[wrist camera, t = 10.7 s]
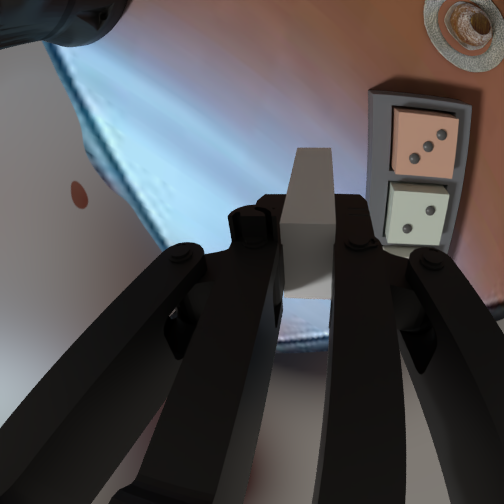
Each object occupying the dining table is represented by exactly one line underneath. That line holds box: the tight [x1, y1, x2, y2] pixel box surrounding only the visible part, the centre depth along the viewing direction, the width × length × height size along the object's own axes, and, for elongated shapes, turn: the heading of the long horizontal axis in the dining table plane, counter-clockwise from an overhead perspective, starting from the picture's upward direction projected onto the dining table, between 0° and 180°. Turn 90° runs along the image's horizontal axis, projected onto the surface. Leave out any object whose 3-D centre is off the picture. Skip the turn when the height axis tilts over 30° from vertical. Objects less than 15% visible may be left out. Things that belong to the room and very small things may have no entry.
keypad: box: [365, 90, 472, 254], centre depth 38 cm, size 12×28×4 cm, turn 6°
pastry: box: [423, 0, 504, 72], centre depth 23 cm, size 12×12×5 cm
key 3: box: [390, 106, 459, 179], centre depth 31 cm, size 7×7×4 cm
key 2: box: [383, 180, 449, 245], centre depth 36 cm, size 7×7×4 cm
